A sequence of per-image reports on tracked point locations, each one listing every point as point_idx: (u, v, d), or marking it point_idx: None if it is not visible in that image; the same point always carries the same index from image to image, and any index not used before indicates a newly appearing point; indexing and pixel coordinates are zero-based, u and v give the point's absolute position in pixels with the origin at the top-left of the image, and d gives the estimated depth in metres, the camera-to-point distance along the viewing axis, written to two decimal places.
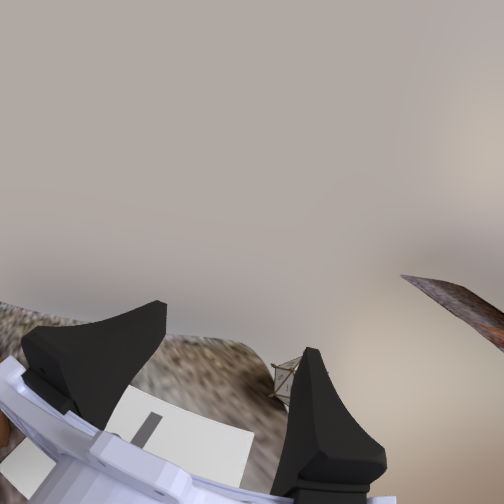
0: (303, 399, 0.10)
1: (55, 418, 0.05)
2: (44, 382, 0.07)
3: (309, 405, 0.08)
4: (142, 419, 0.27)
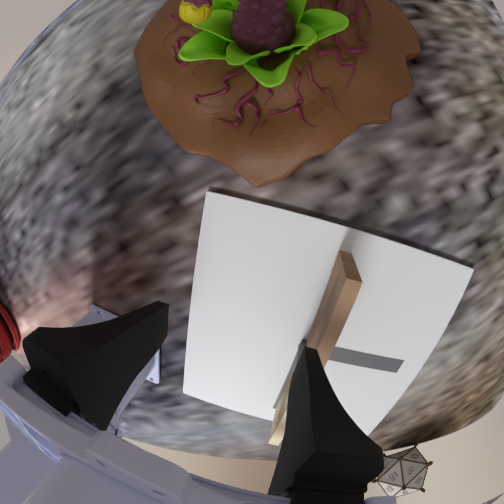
0: (301, 399, 0.10)
1: (55, 418, 0.05)
2: (46, 383, 0.07)
3: (307, 404, 0.08)
4: (389, 354, 0.22)
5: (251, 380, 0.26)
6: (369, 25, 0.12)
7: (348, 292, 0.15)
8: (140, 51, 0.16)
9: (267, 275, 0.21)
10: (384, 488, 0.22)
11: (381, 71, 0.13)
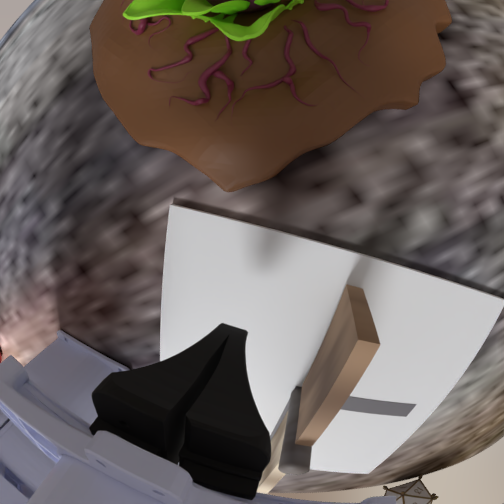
0: None
1: (55, 418, 0.05)
2: (122, 433, 0.06)
3: None
4: (400, 400, 0.16)
5: None
6: None
7: (358, 357, 0.10)
8: (95, 24, 0.10)
9: (251, 313, 0.16)
10: None
11: (405, 37, 0.08)
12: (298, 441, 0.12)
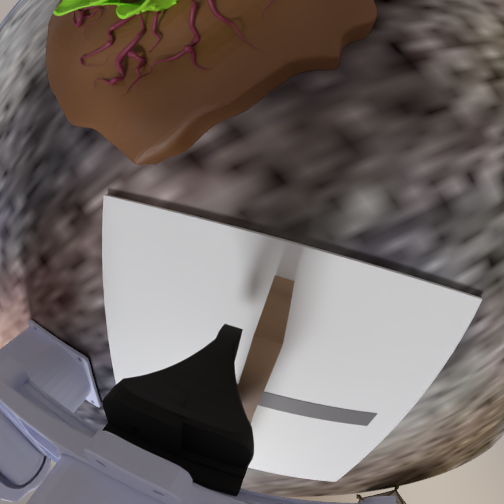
0: None
1: (55, 418, 0.05)
2: (134, 439, 0.06)
3: None
4: (357, 407, 0.16)
5: None
6: None
7: (259, 356, 0.09)
8: (52, 20, 0.09)
9: (180, 303, 0.16)
10: None
11: None
12: None
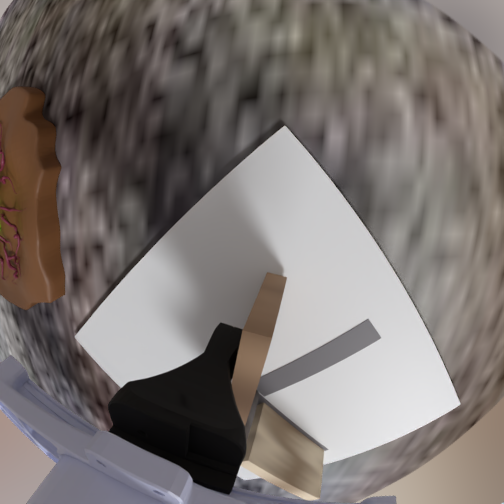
0: None
1: (55, 418, 0.05)
2: (139, 442, 0.06)
3: None
4: (336, 332, 0.14)
5: None
6: (3, 131, 0.13)
7: (249, 351, 0.09)
8: None
9: (145, 361, 0.18)
10: None
11: (15, 153, 0.13)
12: None
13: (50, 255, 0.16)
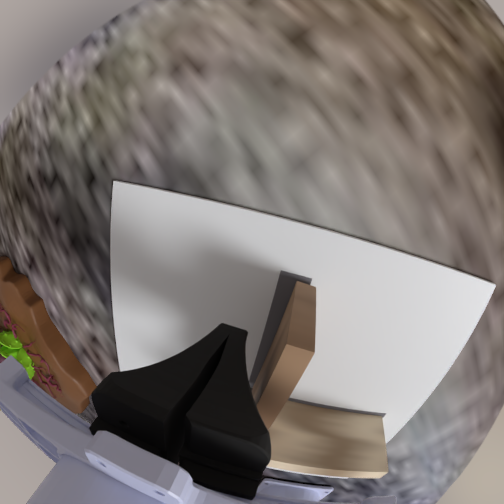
0: None
1: (55, 418, 0.05)
2: (122, 433, 0.06)
3: None
4: (265, 299, 0.14)
5: None
6: None
7: (289, 364, 0.09)
8: None
9: None
10: None
11: (10, 306, 0.18)
12: None
13: (68, 362, 0.20)
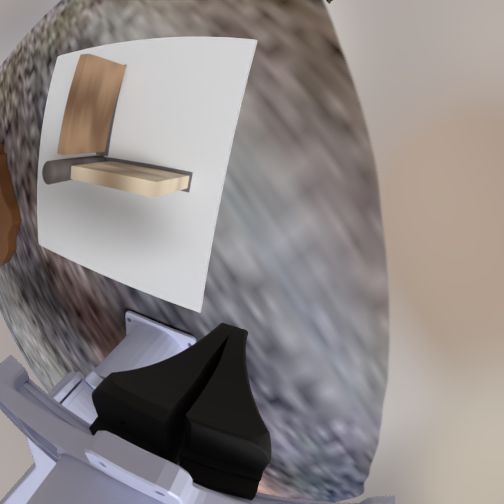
0: None
1: (55, 418, 0.05)
2: (122, 433, 0.06)
3: None
4: None
5: (147, 220, 0.22)
6: None
7: (80, 63, 0.13)
8: None
9: (61, 206, 0.24)
10: None
11: None
12: (58, 149, 0.16)
13: (8, 196, 0.25)
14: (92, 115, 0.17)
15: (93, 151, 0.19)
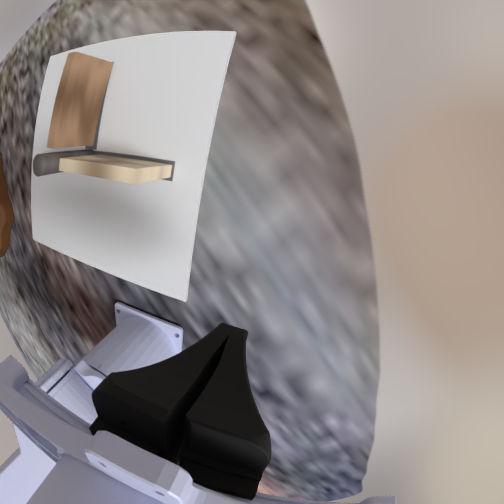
0: None
1: (55, 418, 0.05)
2: (122, 433, 0.06)
3: None
4: None
5: (133, 210, 0.22)
6: None
7: (68, 61, 0.13)
8: None
9: (53, 200, 0.24)
10: None
11: None
12: (47, 143, 0.16)
13: (2, 194, 0.25)
14: (80, 110, 0.17)
15: (81, 145, 0.19)
